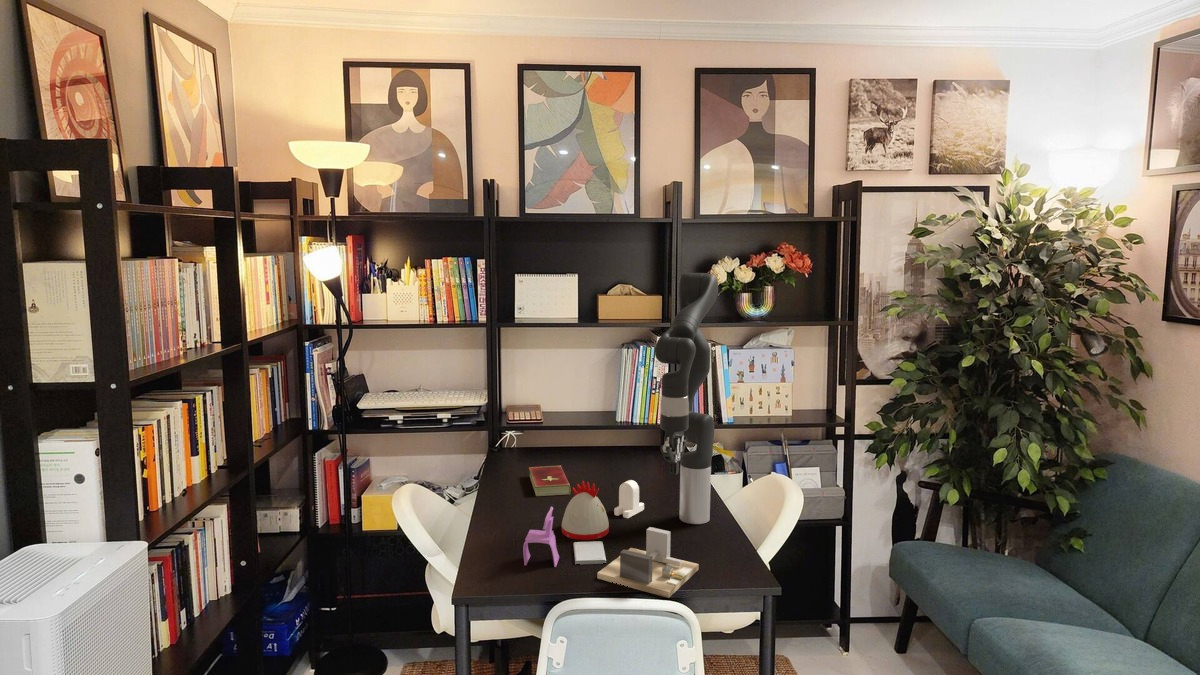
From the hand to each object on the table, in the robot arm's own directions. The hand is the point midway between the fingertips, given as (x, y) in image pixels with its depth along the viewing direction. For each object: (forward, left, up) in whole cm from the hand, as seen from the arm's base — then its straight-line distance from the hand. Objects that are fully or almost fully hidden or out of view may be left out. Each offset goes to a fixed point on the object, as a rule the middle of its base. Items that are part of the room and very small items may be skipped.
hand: (673, 474), depth 203 cm
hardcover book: (-30, -61, -23) cm, 72 cm away
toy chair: (+22, -28, -23) cm, 42 cm away
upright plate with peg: (+11, +2, -21) cm, 24 cm away
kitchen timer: (-2, -29, -23) cm, 37 cm away
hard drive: (+12, -19, -23) cm, 32 cm away
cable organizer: (-22, -25, -23) cm, 40 cm away
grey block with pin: (+16, +8, -21) cm, 27 cm away
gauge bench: (+14, 0, -23) cm, 27 cm away
